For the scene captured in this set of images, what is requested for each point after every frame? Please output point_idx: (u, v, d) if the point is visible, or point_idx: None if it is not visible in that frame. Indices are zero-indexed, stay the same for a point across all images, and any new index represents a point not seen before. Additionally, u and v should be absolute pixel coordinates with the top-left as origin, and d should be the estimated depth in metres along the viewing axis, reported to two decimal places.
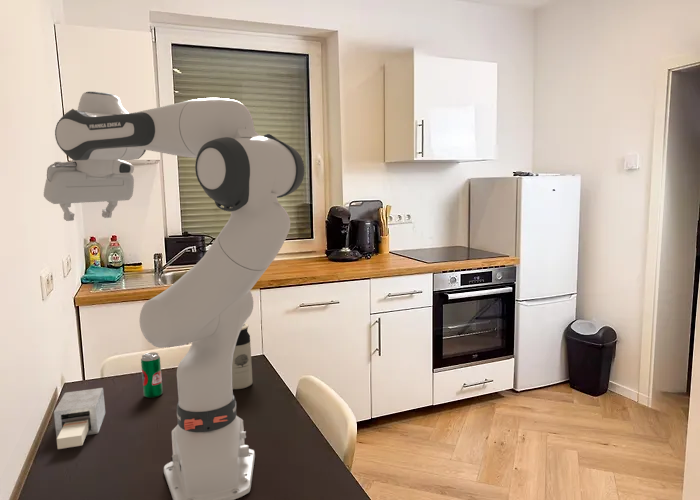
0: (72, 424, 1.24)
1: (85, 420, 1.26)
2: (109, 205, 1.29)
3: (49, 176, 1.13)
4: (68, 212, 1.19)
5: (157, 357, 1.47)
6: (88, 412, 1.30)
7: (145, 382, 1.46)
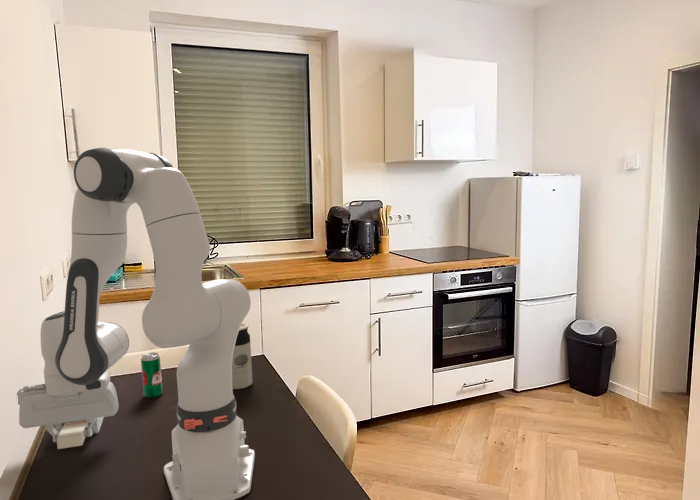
0: (72, 424, 1.24)
1: (85, 420, 1.26)
2: (90, 423, 1.22)
3: (18, 401, 1.16)
4: (51, 433, 1.19)
5: (157, 357, 1.47)
6: None
7: (145, 382, 1.46)
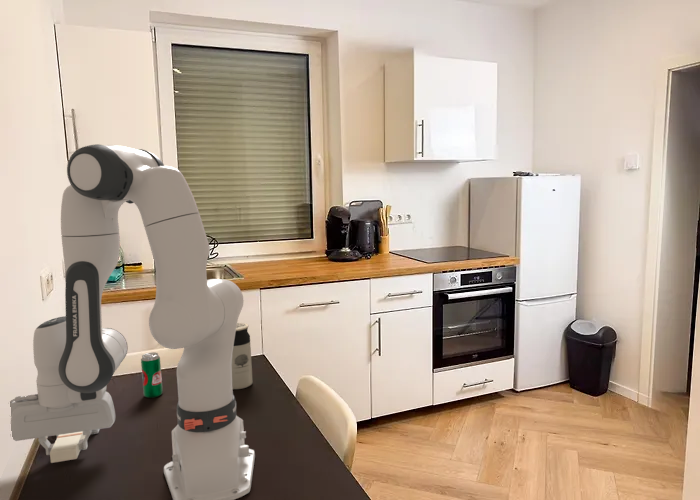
0: (66, 436, 1.18)
1: None
2: None
3: None
4: (44, 446, 1.13)
5: (157, 357, 1.47)
6: None
7: (145, 382, 1.46)
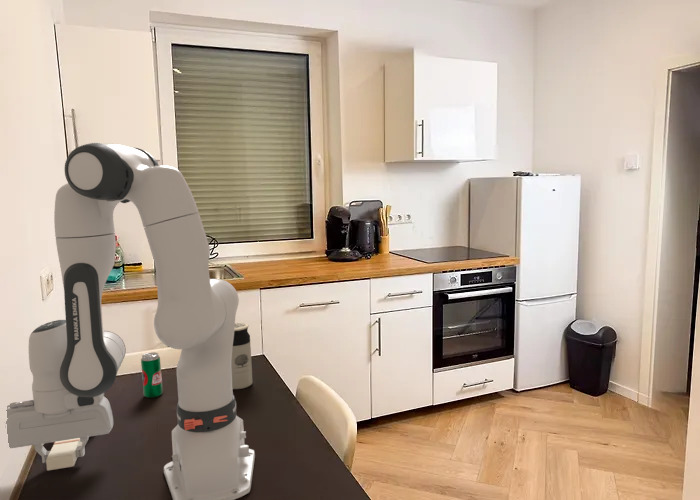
0: (63, 442, 1.15)
1: (77, 438, 1.17)
2: None
3: None
4: (41, 453, 1.10)
5: (157, 357, 1.47)
6: None
7: (145, 382, 1.46)
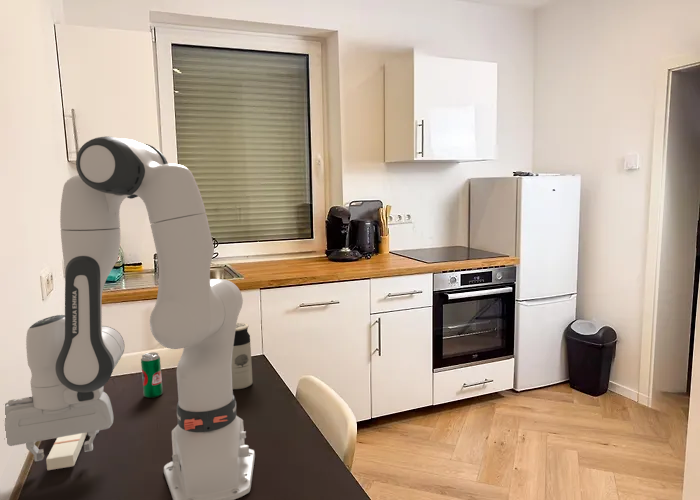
0: (63, 442, 1.15)
1: (77, 438, 1.17)
2: (91, 436, 1.13)
3: None
4: (33, 452, 1.08)
5: (157, 357, 1.47)
6: None
7: (145, 382, 1.46)
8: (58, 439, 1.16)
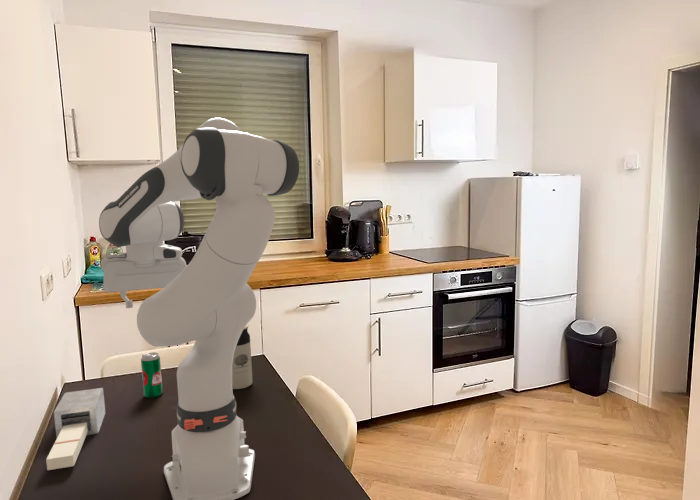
0: (63, 442, 1.15)
1: (77, 438, 1.17)
2: None
3: (102, 267, 1.28)
4: (125, 299, 1.30)
5: (157, 357, 1.47)
6: (81, 428, 1.21)
7: (145, 382, 1.46)
8: (58, 439, 1.16)
